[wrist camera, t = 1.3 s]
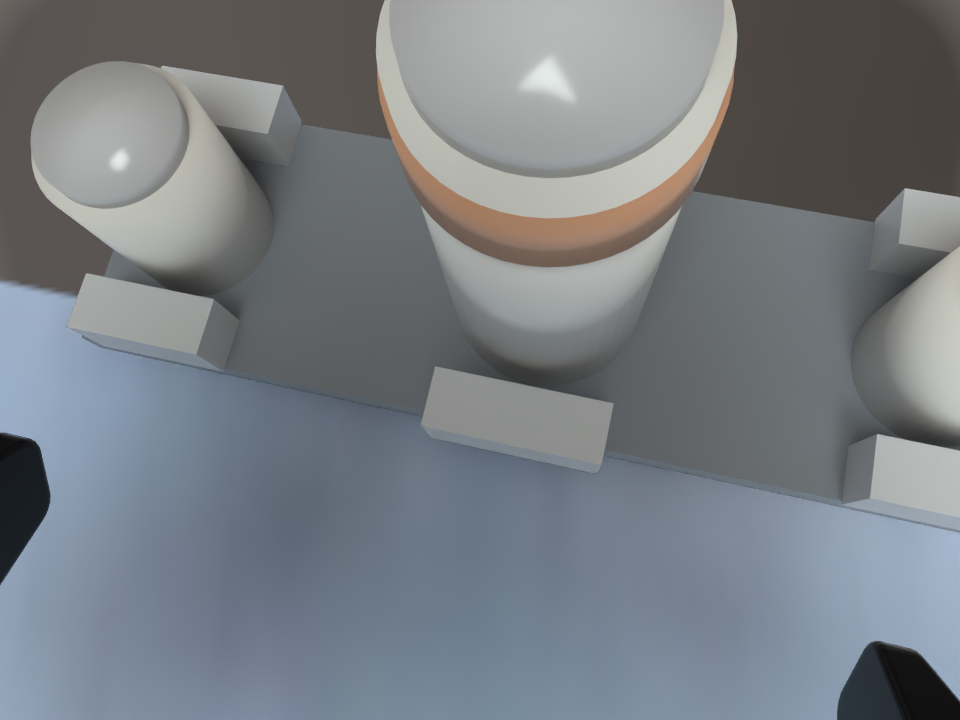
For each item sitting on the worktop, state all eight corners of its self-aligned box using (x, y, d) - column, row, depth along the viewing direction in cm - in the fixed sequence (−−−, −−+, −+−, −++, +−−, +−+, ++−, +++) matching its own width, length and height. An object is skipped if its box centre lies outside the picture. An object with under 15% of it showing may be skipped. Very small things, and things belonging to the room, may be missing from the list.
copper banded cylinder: (629, 405, 21) (731, 212, 10) (435, 371, 21) (319, 154, 10) (657, 222, 22) (776, -137, 11) (472, 195, 23) (405, -170, 12)
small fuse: (253, 306, 22) (163, 223, 17) (120, 284, 23) (-7, 197, 18) (288, 177, 23) (214, 61, 18) (160, 158, 24) (50, 40, 18)
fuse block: (1000, 567, 20) (1071, 567, 17) (93, 368, 23) (34, 341, 21) (1023, 243, 22) (1090, 198, 19) (187, 100, 25) (145, 45, 23)
